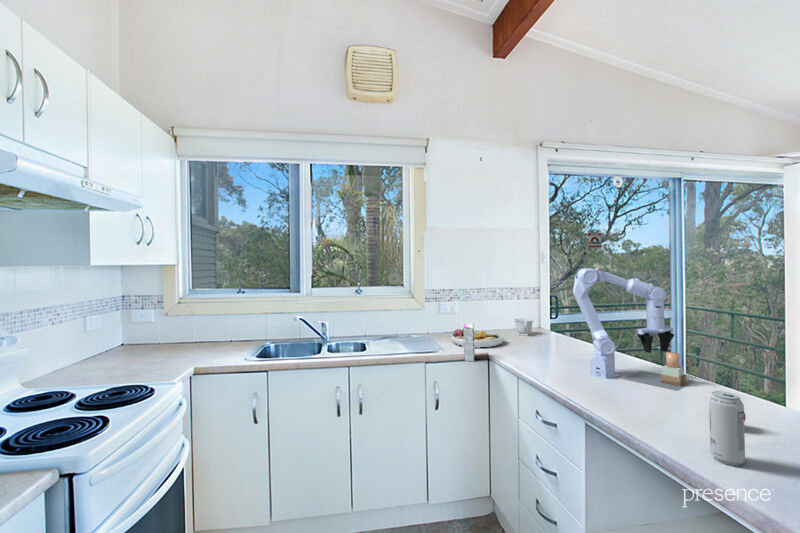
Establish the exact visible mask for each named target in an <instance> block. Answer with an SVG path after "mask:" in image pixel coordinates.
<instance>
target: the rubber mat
mask: <svg viewBox="0 0 800 533" xmlns="http://www.w3.org/2000/svg"><path fill="white" fill-rule="evenodd" d="M661 374H662V373H657V372H651V371H646V370H639V371H637V372H634V373H632V374H631V375H628V376H626V377H624V378H622V380H624V381H629V382H633V383H639V384H643V385H644V384H645V385H647V386H652V387H658V388H660V389H661V388H662V389H666V390H671V391H677V392H678V391H680V390H682V389H683V388H685V387H687V386H688V385H690V384H692V383H694V382H695V379H690V378H686V383H685V384H684V385H682V386H675V385H670V384H666V383H661Z"/></svg>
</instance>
